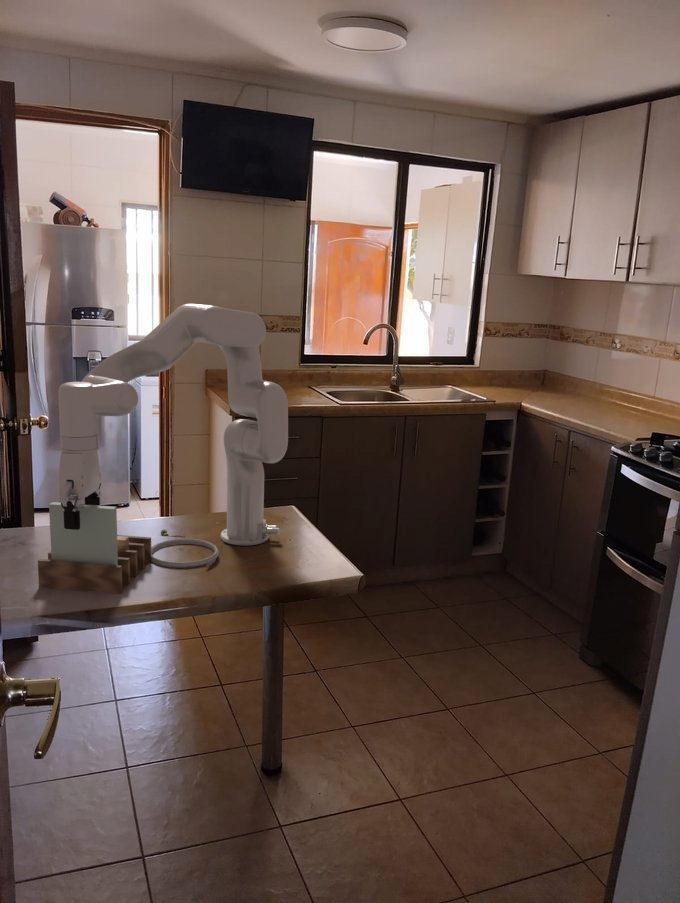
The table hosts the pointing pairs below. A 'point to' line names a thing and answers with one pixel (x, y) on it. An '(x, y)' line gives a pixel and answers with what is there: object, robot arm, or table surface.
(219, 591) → the table surface
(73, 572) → the rack
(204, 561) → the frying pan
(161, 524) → the table surface
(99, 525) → the tall sheet
